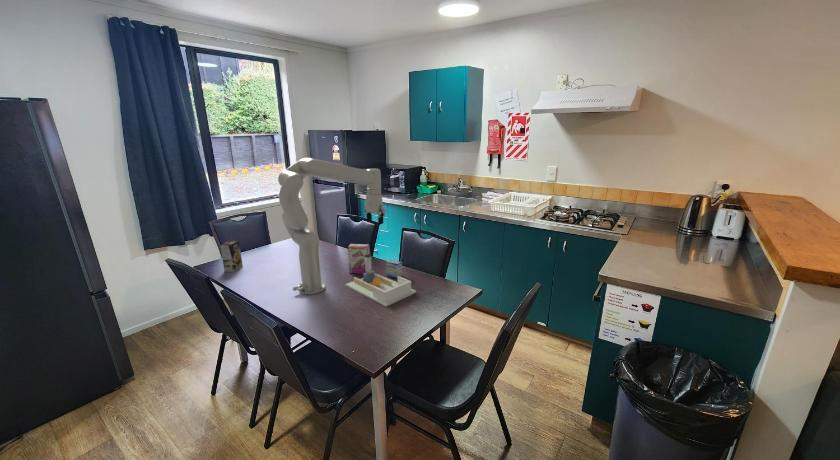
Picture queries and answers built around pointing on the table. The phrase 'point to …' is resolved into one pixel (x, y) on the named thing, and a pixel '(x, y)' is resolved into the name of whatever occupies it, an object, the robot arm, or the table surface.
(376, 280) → the ball
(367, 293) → the white tray
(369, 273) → the kicker
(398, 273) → the medicine box
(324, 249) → the table surface
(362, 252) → the candy bar box
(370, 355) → the table surface
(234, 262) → the coffee box
